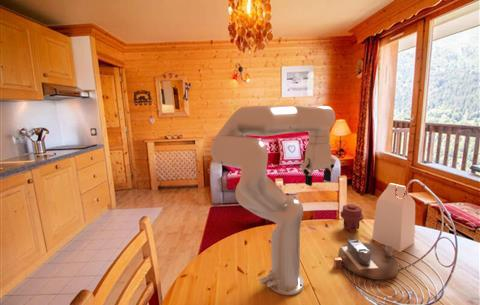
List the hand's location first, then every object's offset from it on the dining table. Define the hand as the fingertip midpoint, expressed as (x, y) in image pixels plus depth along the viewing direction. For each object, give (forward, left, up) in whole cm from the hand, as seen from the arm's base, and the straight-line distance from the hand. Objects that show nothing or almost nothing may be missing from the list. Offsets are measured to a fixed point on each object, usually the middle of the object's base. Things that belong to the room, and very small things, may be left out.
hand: (318, 182), depth 96 cm
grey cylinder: (+8, -14, -27) cm, 31 cm away
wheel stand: (+6, -14, -30) cm, 34 cm away
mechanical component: (+28, +6, -31) cm, 42 cm away
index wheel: (+11, -15, -29) cm, 35 cm away
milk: (+35, -10, -31) cm, 48 cm away
